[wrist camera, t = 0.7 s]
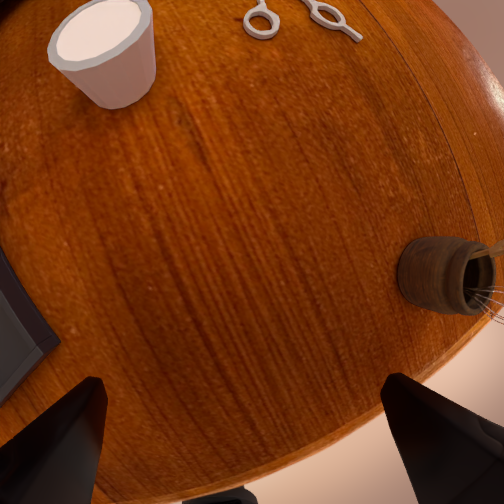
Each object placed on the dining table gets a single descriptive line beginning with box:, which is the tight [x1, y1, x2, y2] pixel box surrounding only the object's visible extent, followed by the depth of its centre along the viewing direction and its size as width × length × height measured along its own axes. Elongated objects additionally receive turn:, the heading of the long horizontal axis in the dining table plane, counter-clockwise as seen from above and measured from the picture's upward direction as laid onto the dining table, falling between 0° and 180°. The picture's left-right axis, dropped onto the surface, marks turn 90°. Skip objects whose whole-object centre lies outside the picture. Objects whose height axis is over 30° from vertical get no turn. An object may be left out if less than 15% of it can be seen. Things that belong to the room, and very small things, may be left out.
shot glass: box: [48, 0, 156, 109], centre depth 14 cm, size 7×7×7 cm
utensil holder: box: [398, 237, 504, 324], centre depth 16 cm, size 6×6×12 cm
